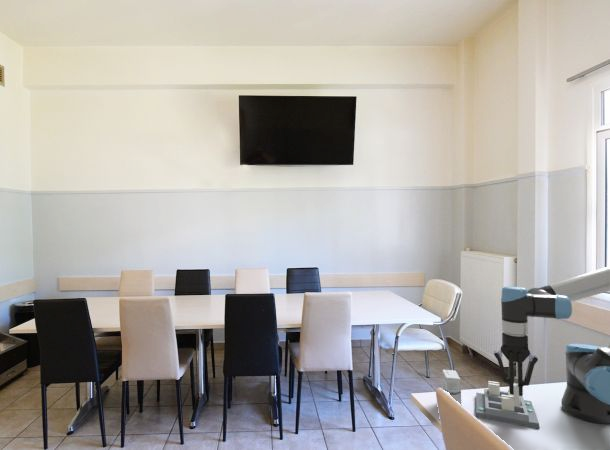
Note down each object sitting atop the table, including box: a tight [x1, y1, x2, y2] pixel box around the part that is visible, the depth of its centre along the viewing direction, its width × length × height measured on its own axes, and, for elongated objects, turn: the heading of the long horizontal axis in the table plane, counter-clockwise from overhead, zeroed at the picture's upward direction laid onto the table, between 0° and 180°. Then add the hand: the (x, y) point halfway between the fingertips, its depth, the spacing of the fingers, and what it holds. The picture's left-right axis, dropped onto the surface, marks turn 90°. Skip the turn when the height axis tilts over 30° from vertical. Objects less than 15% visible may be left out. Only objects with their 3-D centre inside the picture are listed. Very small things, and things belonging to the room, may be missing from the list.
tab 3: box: [507, 388, 521, 406], centre depth 124 cm, size 4×3×6 cm
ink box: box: [442, 369, 462, 405], centre depth 129 cm, size 8×5×12 cm, turn 168°
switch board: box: [475, 388, 540, 429], centre depth 125 cm, size 18×17×4 cm
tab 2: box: [501, 394, 514, 412], centre depth 120 cm, size 4×3×6 cm
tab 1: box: [488, 380, 501, 396], centre depth 132 cm, size 4×3×6 cm
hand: (516, 404), depth 119 cm, fingers closed
